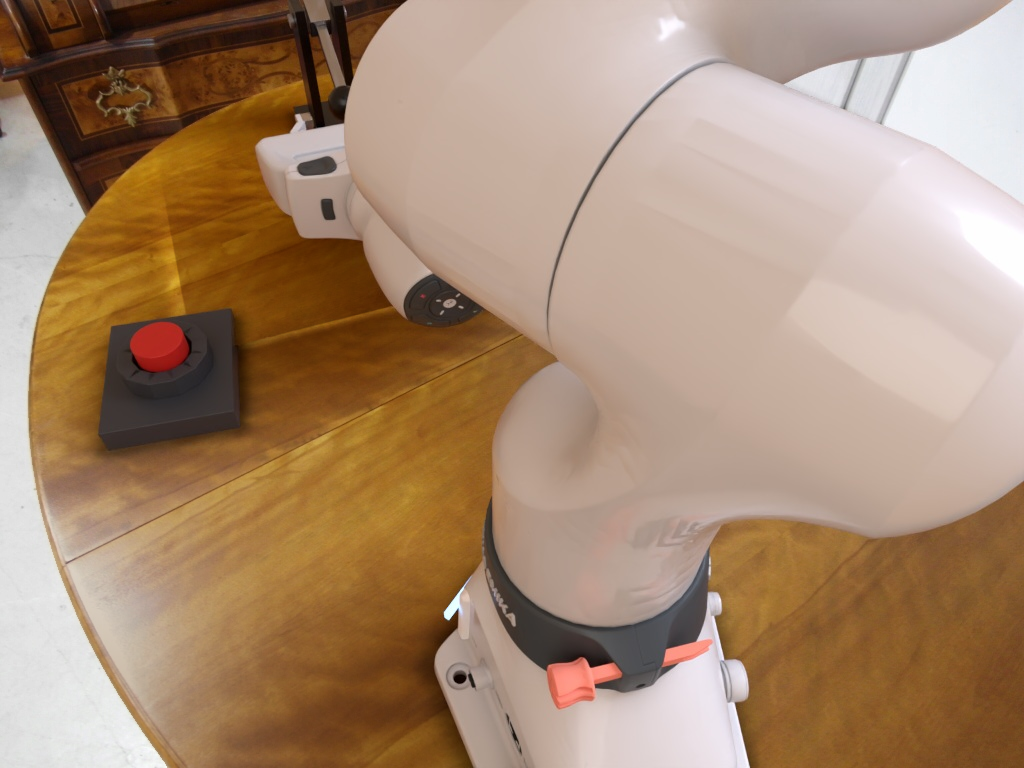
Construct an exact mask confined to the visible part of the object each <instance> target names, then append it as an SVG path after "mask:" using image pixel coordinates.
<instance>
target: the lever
mask: <svg viewBox="0 0 1024 768" xmlns="http://www.w3.org/2000/svg"><path fill="white" fill-rule="evenodd" d="M302 4H303V5H302V7H303V9H304V11H305V16H306V21H307V27H308V32H309V36H310V37H311V38H317V39H318V43H319V46H320V48H321V51H322V55H323V58H324V61H325V63H326V67H327V69H328V73H329V77H330V79H331V82H332V85H333V89H332V90H331V91H330V93H329V95H328V98H327V101H328V107H329V110H330V112H331V114H332V115H333V116H334V117H335V118H336V119H337V120H339V121H342V122H344V120H345V111H346V104H347V100H348V95H349V91H350V88H351V86H347V85H346V84H345V81H344V78H343V74H342V71H341V68H340V65H339V62H338V59H337V56H336V53H335V50H334V47H333V42H332V37H331V36H330V35H331V34H332V30H331V17H330V14H329V11H328V8H327V4H326V0H302Z"/></svg>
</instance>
